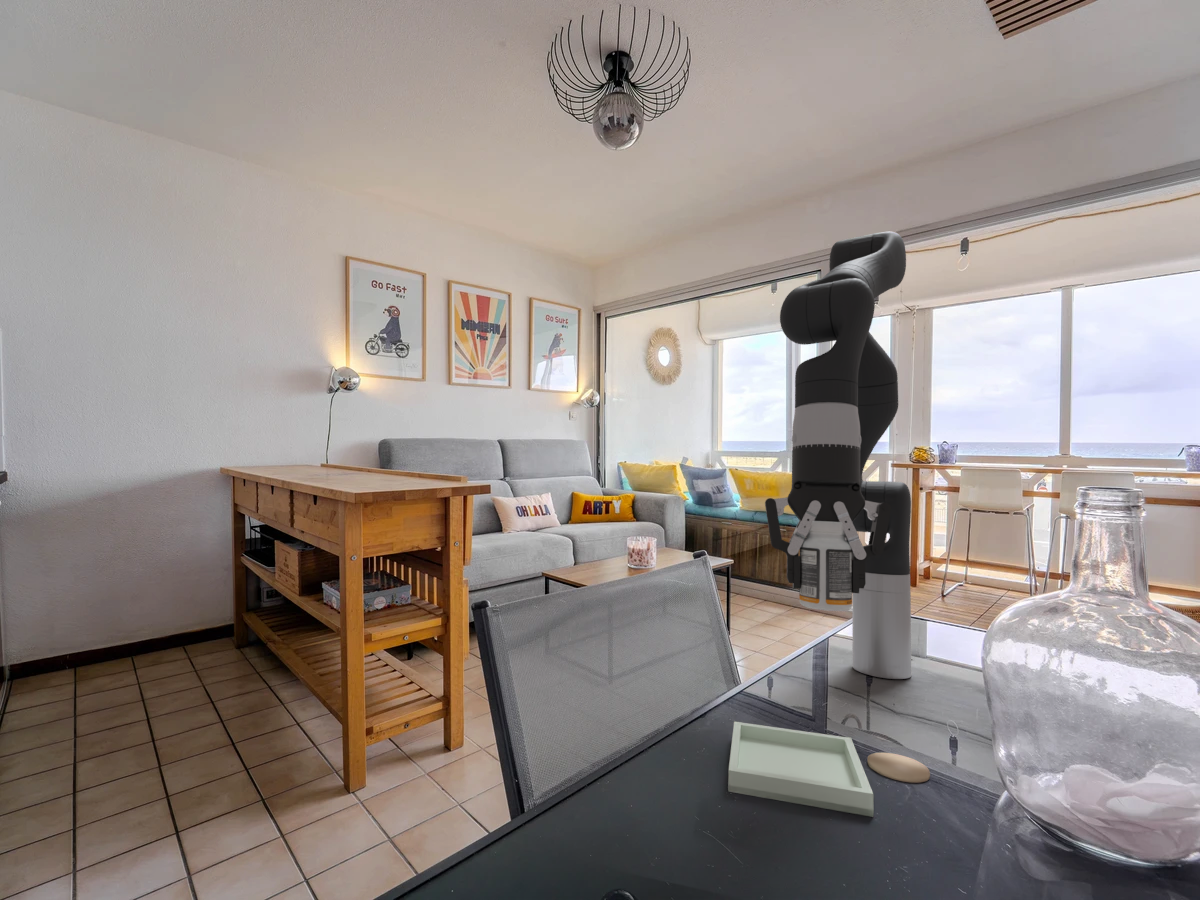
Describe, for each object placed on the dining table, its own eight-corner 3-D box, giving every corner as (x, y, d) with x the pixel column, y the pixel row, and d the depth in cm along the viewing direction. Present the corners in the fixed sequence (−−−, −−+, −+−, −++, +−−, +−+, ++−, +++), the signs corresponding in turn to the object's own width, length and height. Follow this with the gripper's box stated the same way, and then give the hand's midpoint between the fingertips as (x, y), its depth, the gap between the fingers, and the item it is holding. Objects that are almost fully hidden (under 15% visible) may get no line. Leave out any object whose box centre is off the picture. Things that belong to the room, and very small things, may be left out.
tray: (733, 738, 67) (734, 721, 67) (851, 756, 64) (851, 737, 64) (728, 791, 55) (728, 770, 55) (873, 816, 51) (873, 794, 51)
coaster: (863, 752, 65) (863, 749, 65) (921, 761, 63) (921, 757, 63) (873, 776, 59) (873, 772, 59) (937, 786, 57) (937, 782, 57)
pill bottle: (849, 607, 66) (849, 522, 67) (854, 614, 61) (855, 522, 62) (798, 602, 68) (799, 520, 69) (799, 608, 62) (800, 519, 64)
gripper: (884, 450, 68) (885, 591, 66) (762, 448, 72) (759, 581, 70) (900, 442, 61) (901, 600, 59) (763, 440, 65) (760, 588, 63)
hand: (824, 589), depth 65 cm, fingers closed on pill bottle, 5 cm apart
